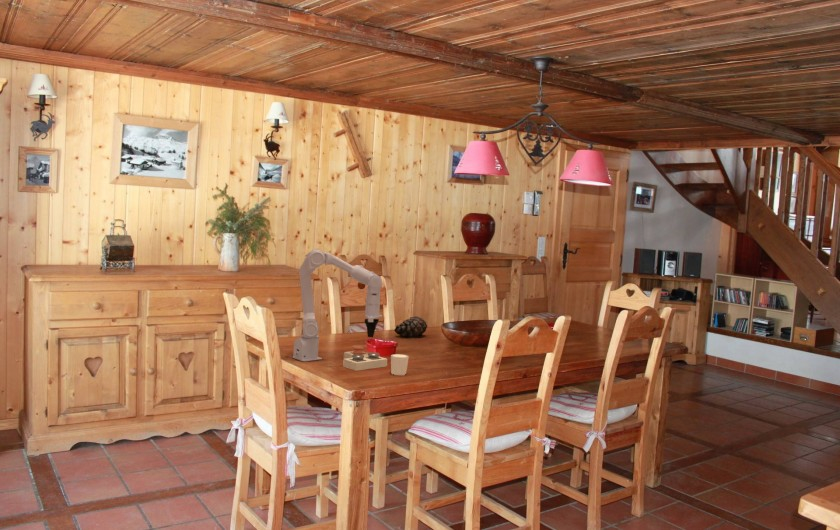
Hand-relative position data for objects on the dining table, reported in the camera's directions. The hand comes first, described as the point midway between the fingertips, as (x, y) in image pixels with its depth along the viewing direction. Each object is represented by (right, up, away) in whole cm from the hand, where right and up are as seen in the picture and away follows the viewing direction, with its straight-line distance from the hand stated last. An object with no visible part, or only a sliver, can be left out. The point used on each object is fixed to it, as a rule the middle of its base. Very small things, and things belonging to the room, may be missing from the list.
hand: (370, 336), depth 291 cm
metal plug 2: (+1, -10, -7) cm, 12 cm away
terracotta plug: (-5, -8, 0) cm, 10 cm away
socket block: (-5, -10, -6) cm, 13 cm away
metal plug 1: (-4, -10, -13) cm, 17 cm away
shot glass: (+12, -13, -17) cm, 25 cm away
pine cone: (+16, -6, +61) cm, 64 cm away
